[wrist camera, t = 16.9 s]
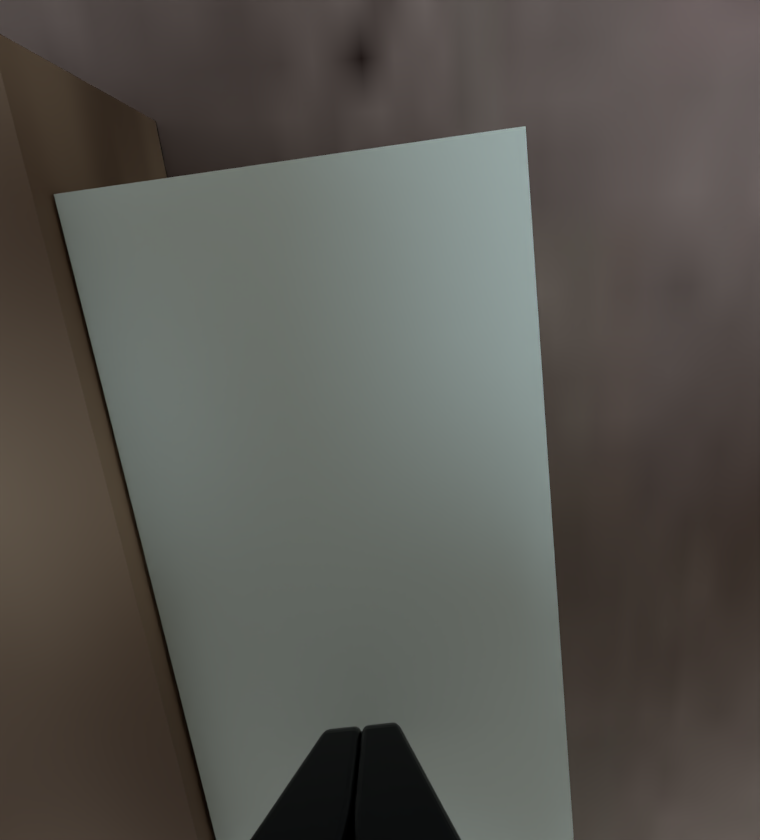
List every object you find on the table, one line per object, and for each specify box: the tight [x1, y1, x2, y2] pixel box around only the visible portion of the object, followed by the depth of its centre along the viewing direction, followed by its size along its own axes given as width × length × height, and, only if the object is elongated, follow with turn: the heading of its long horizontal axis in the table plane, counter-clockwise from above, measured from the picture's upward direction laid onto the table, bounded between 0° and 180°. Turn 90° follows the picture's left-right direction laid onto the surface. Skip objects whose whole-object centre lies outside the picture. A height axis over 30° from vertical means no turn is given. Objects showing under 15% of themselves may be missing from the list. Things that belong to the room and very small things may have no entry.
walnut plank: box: [0, 34, 216, 840], centre depth 9 cm, size 16×6×4 cm, turn 7°
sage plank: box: [54, 126, 574, 840], centre depth 10 cm, size 14×4×4 cm, turn 8°
